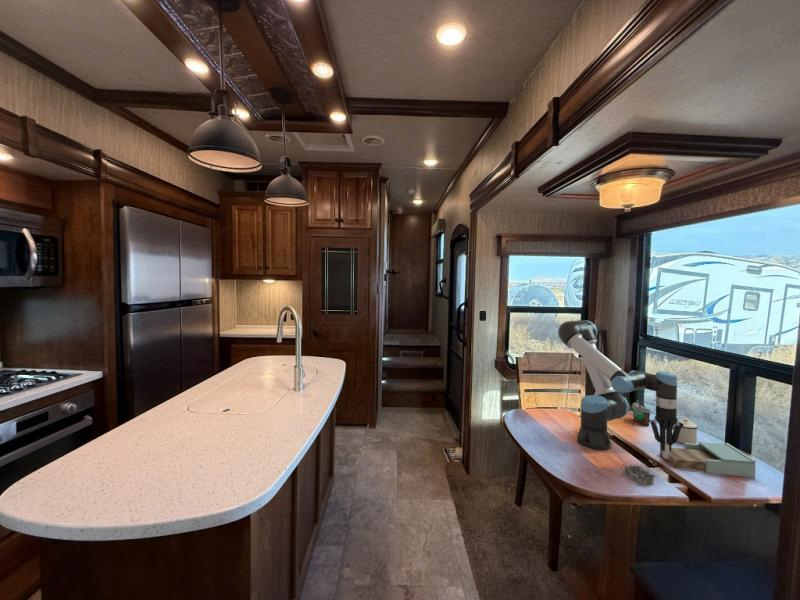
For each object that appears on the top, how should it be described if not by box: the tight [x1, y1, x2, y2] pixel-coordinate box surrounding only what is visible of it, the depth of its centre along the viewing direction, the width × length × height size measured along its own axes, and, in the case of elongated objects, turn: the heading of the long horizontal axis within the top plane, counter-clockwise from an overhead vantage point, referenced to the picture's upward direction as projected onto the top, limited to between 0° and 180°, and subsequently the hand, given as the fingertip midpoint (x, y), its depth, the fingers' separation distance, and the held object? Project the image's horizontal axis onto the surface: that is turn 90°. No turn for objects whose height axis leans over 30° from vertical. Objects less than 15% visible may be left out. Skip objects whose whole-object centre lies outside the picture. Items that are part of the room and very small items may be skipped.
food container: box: [631, 402, 652, 427], centre depth 197 cm, size 12×6×10 cm, turn 172°
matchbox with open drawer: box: [684, 441, 757, 478], centre depth 151 cm, size 17×16×7 cm
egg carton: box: [622, 463, 657, 486], centre depth 142 cm, size 11×8×4 cm
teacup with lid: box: [672, 417, 699, 445], centre depth 175 cm, size 12×9×12 cm
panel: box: [659, 447, 718, 472], centre depth 153 cm, size 18×12×4 cm, turn 76°
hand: (665, 457), depth 155 cm, fingers closed
